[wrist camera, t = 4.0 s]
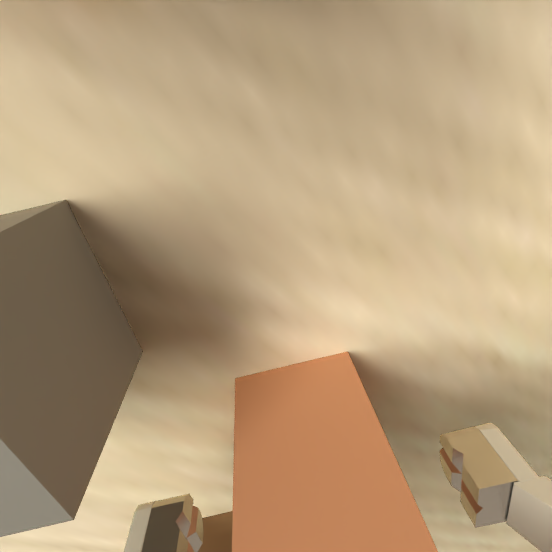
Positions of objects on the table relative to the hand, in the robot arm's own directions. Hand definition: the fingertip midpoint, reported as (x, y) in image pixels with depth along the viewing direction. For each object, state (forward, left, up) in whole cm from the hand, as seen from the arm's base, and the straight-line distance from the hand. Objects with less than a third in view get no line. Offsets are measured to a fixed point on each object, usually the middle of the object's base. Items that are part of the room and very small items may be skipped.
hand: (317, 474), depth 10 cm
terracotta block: (0, 0, -3) cm, 3 cm away
